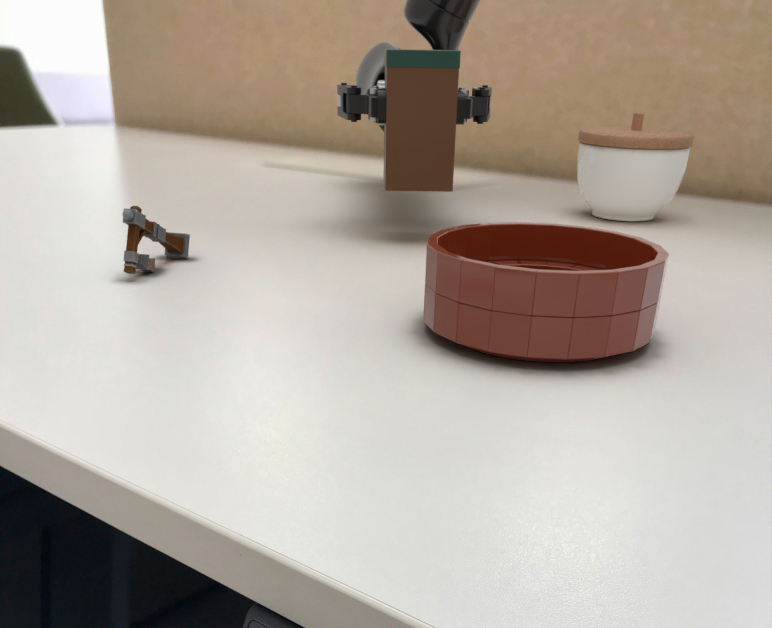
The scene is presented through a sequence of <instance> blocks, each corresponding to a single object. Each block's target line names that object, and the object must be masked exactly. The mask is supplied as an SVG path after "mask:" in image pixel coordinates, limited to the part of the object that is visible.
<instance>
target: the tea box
mask: <svg viewBox="0 0 772 628" xmlns="http://www.w3.org/2000/svg"><path fill="white" fill-rule="evenodd" d="M384 66H385V91H386V123H384V132H383V178H382V179H383V185H384V191H385V192H442V193H443V192H446V193H447V192H449V193H450V192H453V190H454V174H455V173H454V171H455V155H456V153H455V152H456V137H457V136H456V134H457V124H456V118H457V99H458V88H459V79H460V77H459V76H460V68H461V50H459V49H458V50H432V49H415V48H414V49H410V48H409V49H408V48H407V49H405V48H404V49H403V48H401V49H385V50H384Z"/></svg>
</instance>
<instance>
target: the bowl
mask: <svg viewBox="0 0 772 628" xmlns="http://www.w3.org/2000/svg"><path fill="white" fill-rule="evenodd" d="M425 255H426V256H425V273H424V275H425V276H424V277H425V278H424V294H423V295H424V298H423V318H422V319H423V320H422V321H423V322H424V324H425V325H426V326H427V327H428V328H429V329H430V330H431V331H432V332H433V333H435V334H436V335H438V336H440V337H443V338H445V339H446V340H448V341H451V342H453V343H456V344H459V345H461V346H463V347H465V348H466V349H467V348H468V349H470V350H473V351H476V352H479V353H483V354H487V355H490V356H493V357H494V356H495V357H499V358H505V359H511V360H518V361H526V362H537V363H577V362H586V361H593V360H599V359H604V358H608V357H611V356H615V355H616V356H617V355H622V354H627V353H630V352H634V351H636V350H638V349H640V348H642V347H644V346H646V345H648V344H649V343H650V342H651V340H652V338H653V335H654V333H655V330H656V324H657V320H658V315H659V314H658V313H659V310H660V309H659V308H660V304H661V299H662V293H663V289H664V283H665V277H666V273H667V267H668V262H669V257H670V254H669V252H668V251H667V250H666V249H665V248H664V247H663V246H661V244H658V243H655V242H654V241H650V240H648V239H646V238H643V237H640V236H637V235H633V234H628V233H624V232H619V231H616V230H611V229H604V228H597V227H590V226H584V225H576V224H575V225H574V224H565V223H564V224H563V223H555V222H554V223H552V222H528V221H527V222H526V221H507V222H506V221H503V222H482V223H481V222H480V223H471V224H463V225H457V226H453V227H448V228H444V229H440V230H437V231H436V232H434V233H432V234H431V235H428V237H427V241H426V254H425Z"/></svg>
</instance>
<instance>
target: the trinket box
mask: <svg viewBox="0 0 772 628" xmlns="http://www.w3.org/2000/svg"><path fill="white" fill-rule="evenodd" d="M644 119H645V112H633V113H632V120H631V126H591V127H583V128H582V129H580V130H579V131H578V138H577V141H578V148H577V157H576V176H577V177H576V178H577V186H578V190H579V193H580V195H581V197H582V199H583V200H584V203H585V205H587V206H588V207H589V209H590V210H591V215H592V216H593V217H596V218H600V219H604V220H610V221H617V222H646V221H647V222H648V221H652V220H654V219H655V215H656V214H658V213H659V212H660V211H662V210H663V209H664V208H665V207H666V206H668V204H669V203H671V201H672V200H673V198H674V197H675V196H676V194H677V192H678V190H679V189H680V187H681V184H682V181H683V179H684V176H685V173H686V170H687V166H688V162H689V156H690V151H691V147H692V146H693V143H694V135H693V134H692V133H691V132H687V131H682V130H673V129H666V128H657V127H656V128H654V127H643V124H644Z"/></svg>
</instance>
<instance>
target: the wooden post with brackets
mask: <svg viewBox="0 0 772 628" xmlns="http://www.w3.org/2000/svg"><path fill="white" fill-rule="evenodd" d="M142 211H143V209H142V208H141V207H140V206H138V205H132V206H130V207H129V208H123V211H122V223H123V224H126V225H127V236H126V245H125V250H123V259H122V260H123V262H124V263H123V272H124V273H126V274H129V275H130V274H132V275H136V273H137V271H136V270H141V272H150V273H155V269H156V258H151V257H150V254H145V253H144V254H143V253H138V247H139V244H140V243H141V241H142V239H143V237H144V238H148V239H149V240H151V241H152V242H154V243H159V244H160V245H161V246H162V247H163V248H164V256H165V257H166V258H173V259H174V258H175V259H176V258H177V259H189V253H190V252H189V250H190V238H191V233H190V234H189V233H185V232H183V233H182V232H169V231H167V228H164V227H163V226H161V225H160V224H159V223H158V222H156V221H150V220H149V219H147V215H146V214H143V213H142Z"/></svg>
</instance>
